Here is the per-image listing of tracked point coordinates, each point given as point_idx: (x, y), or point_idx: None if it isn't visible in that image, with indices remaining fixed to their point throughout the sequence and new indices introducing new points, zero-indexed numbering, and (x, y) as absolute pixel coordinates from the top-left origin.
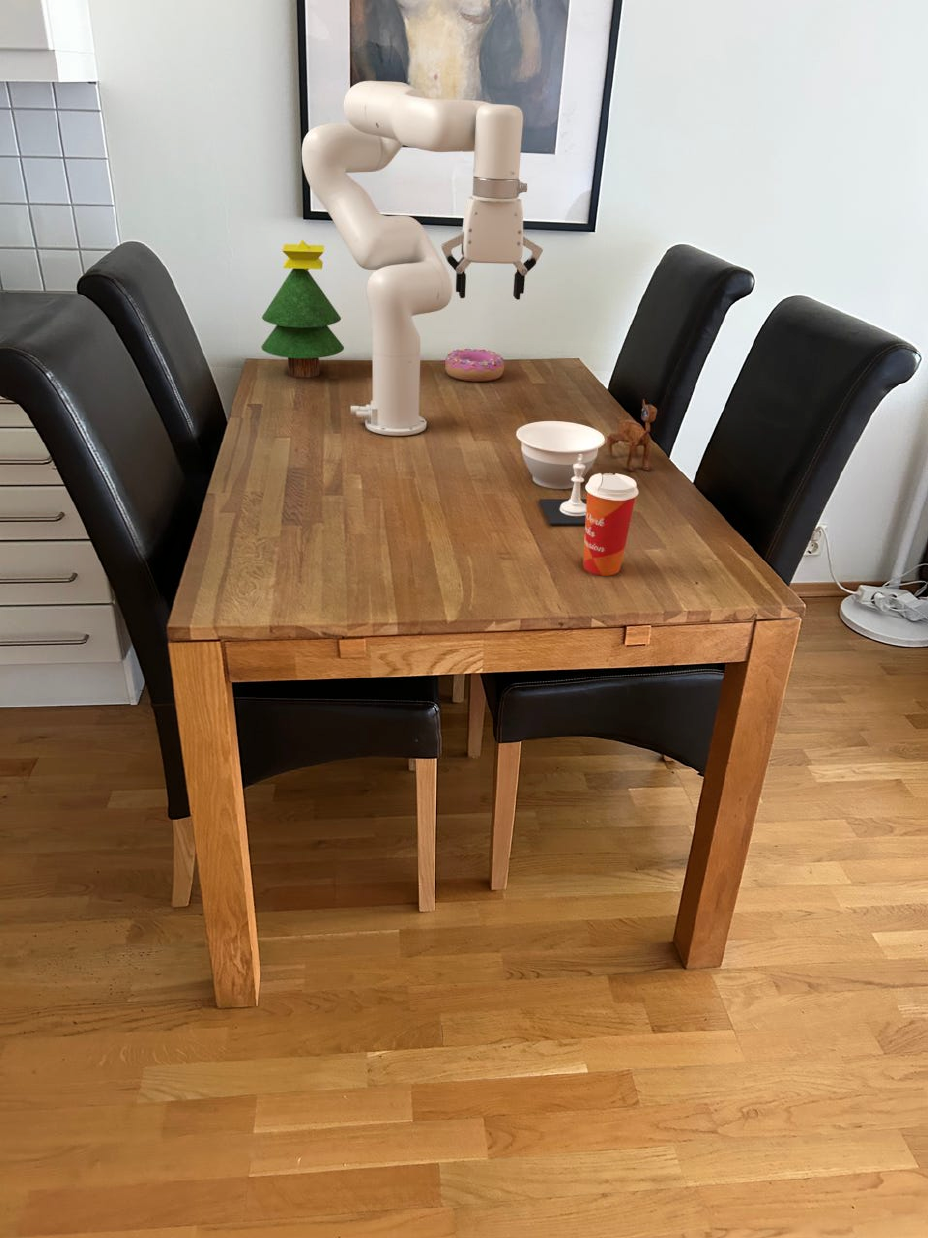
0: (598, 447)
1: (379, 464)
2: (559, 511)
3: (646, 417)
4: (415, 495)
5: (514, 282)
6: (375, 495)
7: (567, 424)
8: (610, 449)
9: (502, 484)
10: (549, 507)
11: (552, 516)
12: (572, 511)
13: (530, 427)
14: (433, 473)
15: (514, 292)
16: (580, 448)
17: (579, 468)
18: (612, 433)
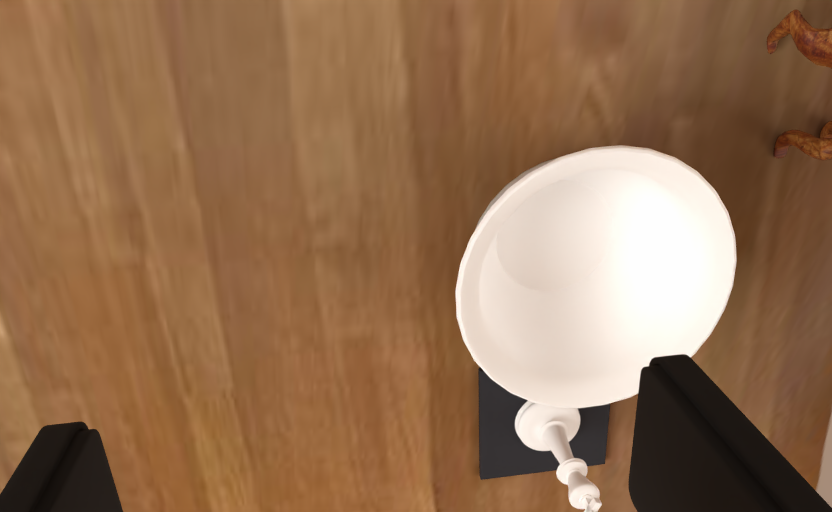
0: None
1: (11, 157)
2: (512, 427)
3: None
4: (165, 364)
5: (708, 466)
6: (57, 374)
7: (655, 167)
8: (780, 38)
9: (398, 275)
10: (494, 410)
11: (491, 450)
12: (538, 449)
13: (517, 204)
14: (199, 216)
15: (654, 434)
16: (658, 197)
17: (581, 508)
18: (818, 36)
